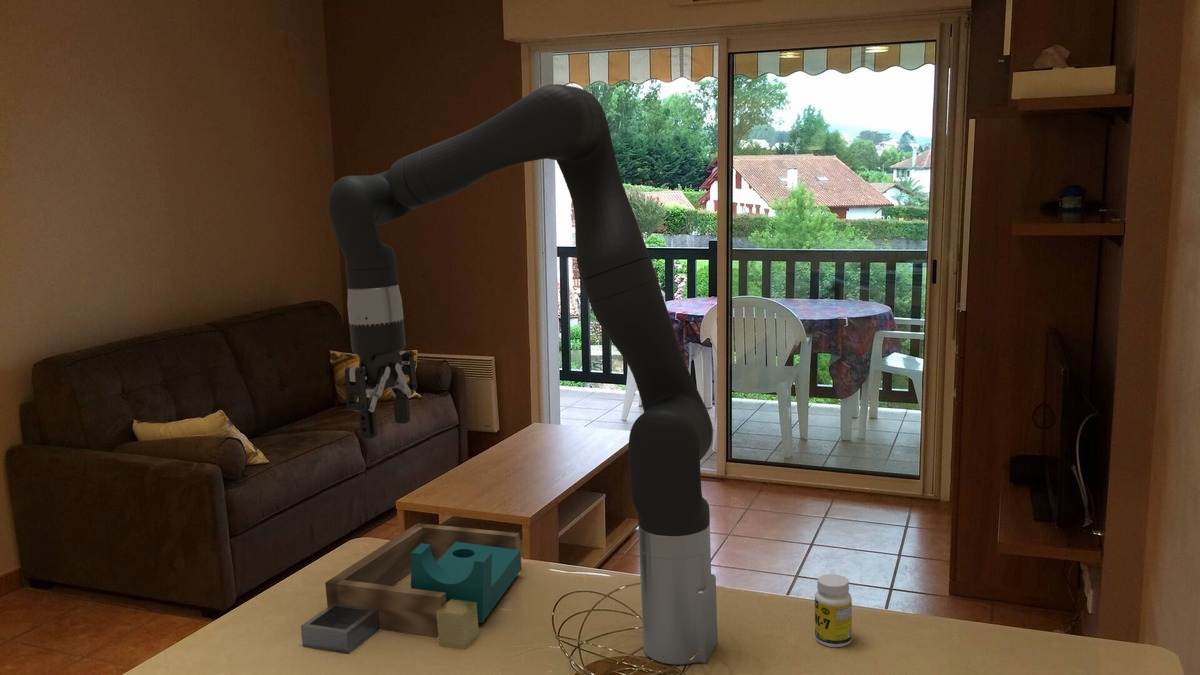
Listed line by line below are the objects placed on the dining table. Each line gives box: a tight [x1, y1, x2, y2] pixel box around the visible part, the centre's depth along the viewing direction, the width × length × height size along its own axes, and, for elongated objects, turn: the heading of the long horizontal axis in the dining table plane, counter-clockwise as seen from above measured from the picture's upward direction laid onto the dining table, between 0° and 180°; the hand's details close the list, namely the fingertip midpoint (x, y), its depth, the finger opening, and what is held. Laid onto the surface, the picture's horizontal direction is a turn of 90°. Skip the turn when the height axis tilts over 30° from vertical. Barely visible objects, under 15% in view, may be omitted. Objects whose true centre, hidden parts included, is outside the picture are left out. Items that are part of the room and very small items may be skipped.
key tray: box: [300, 603, 381, 654], centre depth 134 cm, size 8×8×3 cm
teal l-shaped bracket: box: [410, 542, 521, 623], centre depth 145 cm, size 18×11×10 cm, turn 168°
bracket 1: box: [324, 522, 522, 638], centre depth 147 cm, size 19×25×6 cm
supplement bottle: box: [814, 573, 853, 648], centre depth 127 cm, size 5×5×8 cm
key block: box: [436, 599, 480, 650], centre depth 132 cm, size 4×4×5 cm
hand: (386, 430), depth 138 cm, fingers open, 8 cm apart
